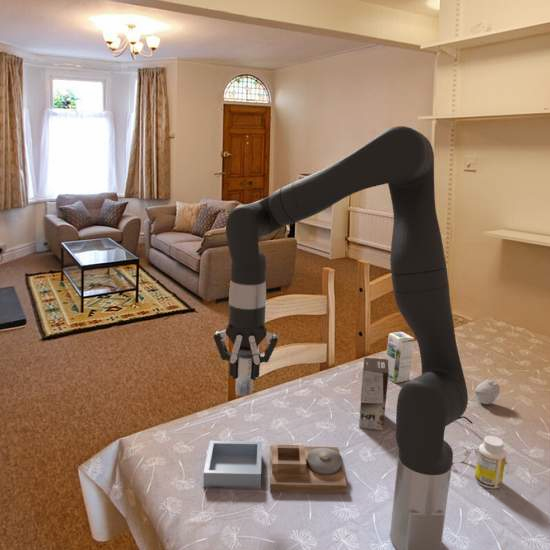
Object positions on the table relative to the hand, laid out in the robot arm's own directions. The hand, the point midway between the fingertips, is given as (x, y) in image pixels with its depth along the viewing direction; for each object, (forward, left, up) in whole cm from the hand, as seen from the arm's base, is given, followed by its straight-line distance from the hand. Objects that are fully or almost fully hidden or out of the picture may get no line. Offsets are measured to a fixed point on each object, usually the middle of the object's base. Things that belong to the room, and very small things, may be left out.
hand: (244, 377), depth 111 cm
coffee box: (+22, -33, -22) cm, 46 cm away
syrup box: (+48, -46, -22) cm, 70 cm away
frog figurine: (+33, -68, -22) cm, 79 cm away
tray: (-1, +2, -22) cm, 22 cm away
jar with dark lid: (0, 0, -3) cm, 3 cm away
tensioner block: (-1, -14, -22) cm, 26 cm away
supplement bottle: (-3, -54, -22) cm, 59 cm away
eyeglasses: (+13, -51, -23) cm, 57 cm away
